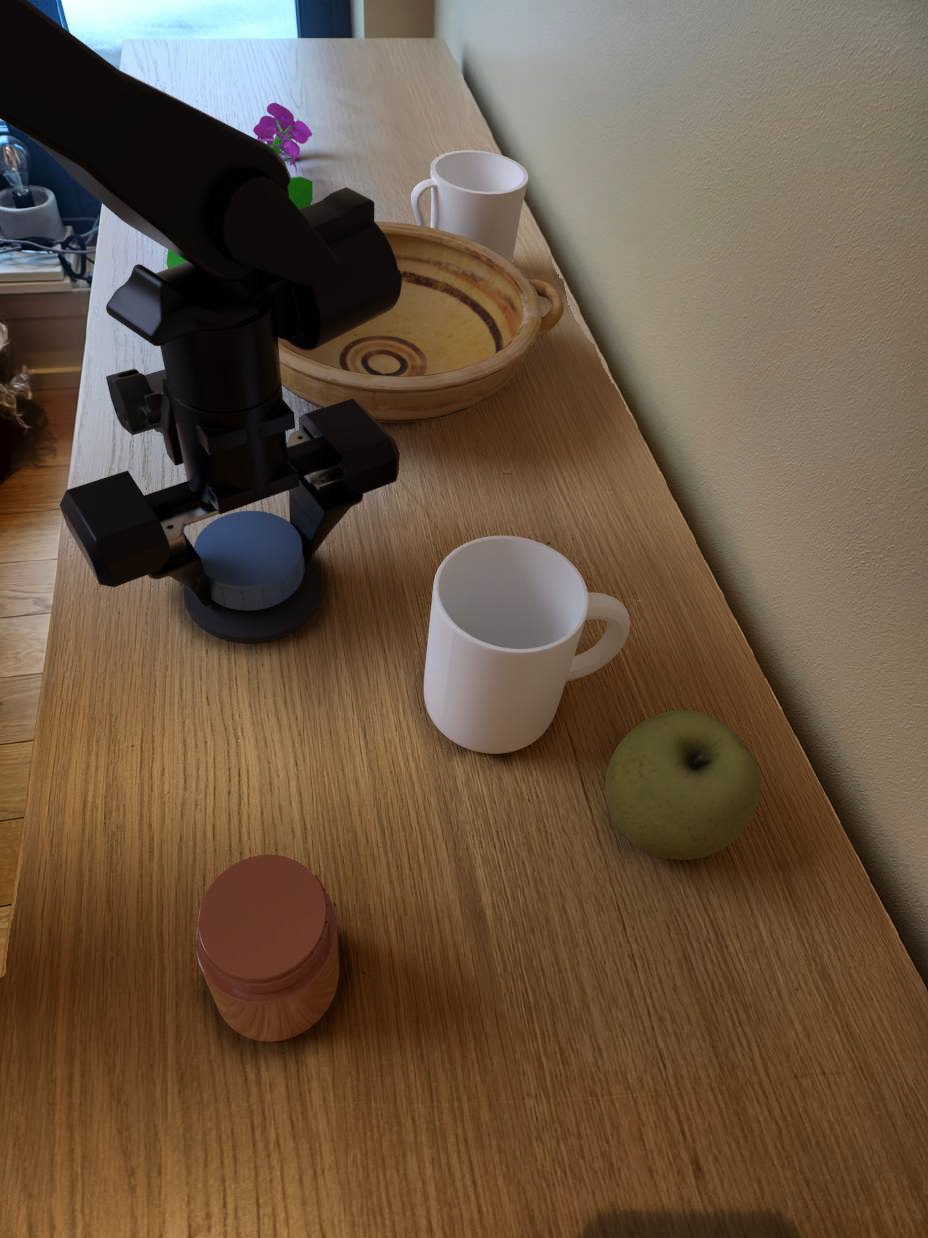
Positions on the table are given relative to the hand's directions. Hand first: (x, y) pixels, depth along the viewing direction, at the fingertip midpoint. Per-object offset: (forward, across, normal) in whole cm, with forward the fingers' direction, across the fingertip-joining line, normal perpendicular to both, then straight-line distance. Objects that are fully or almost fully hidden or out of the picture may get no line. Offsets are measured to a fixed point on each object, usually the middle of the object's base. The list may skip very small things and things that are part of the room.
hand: (253, 581), depth 56 cm
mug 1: (+1, -35, -27) cm, 44 cm away
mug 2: (+1, -10, +16) cm, 19 cm away
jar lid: (-3, 0, 0) cm, 3 cm away
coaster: (+1, 0, 0) cm, 1 cm away
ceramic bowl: (+1, -20, -16) cm, 26 cm away
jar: (+1, +10, +23) cm, 25 cm away
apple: (+1, -12, +27) cm, 30 cm away
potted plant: (+1, -22, -46) cm, 51 cm away
